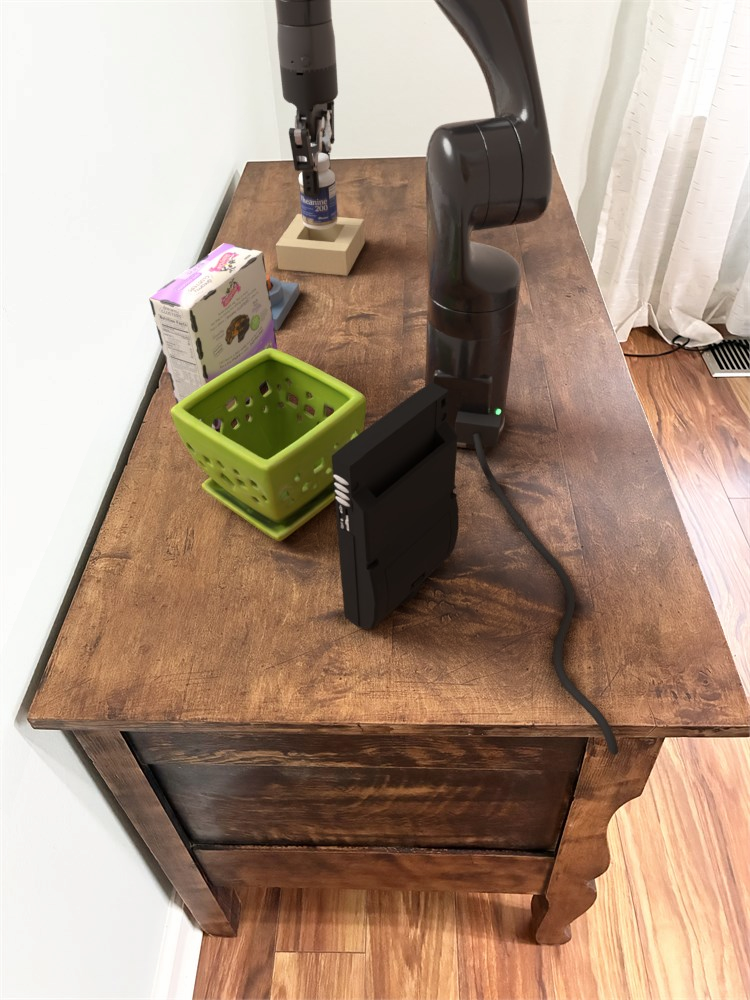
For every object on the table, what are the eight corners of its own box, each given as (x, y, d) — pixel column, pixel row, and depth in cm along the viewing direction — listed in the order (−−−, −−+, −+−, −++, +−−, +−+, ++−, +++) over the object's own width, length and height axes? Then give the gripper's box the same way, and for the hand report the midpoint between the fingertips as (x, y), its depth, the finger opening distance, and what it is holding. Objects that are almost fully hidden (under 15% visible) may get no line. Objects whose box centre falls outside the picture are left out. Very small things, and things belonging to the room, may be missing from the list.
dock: (347, 275, 114) (346, 251, 111) (278, 269, 116) (275, 244, 113) (364, 243, 122) (363, 218, 119) (299, 237, 124) (297, 213, 121)
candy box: (244, 359, 99) (223, 239, 87) (282, 370, 97) (265, 250, 85) (178, 418, 90) (145, 294, 79) (217, 432, 88) (189, 307, 77)
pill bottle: (297, 228, 114) (290, 162, 107) (310, 213, 117) (304, 149, 111) (331, 232, 113) (326, 165, 106) (342, 217, 116) (338, 152, 109)
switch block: (278, 330, 104) (275, 307, 101) (223, 324, 105) (219, 301, 103) (299, 293, 111) (297, 271, 108) (248, 288, 112) (245, 266, 110)
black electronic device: (421, 543, 75) (426, 378, 61) (458, 565, 73) (472, 399, 59) (339, 618, 69) (323, 453, 55) (377, 645, 67) (370, 481, 52)
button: (267, 295, 104) (265, 284, 103) (245, 293, 105) (243, 282, 104) (274, 284, 106) (273, 273, 105) (253, 282, 107) (251, 271, 106)
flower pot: (190, 501, 80) (163, 406, 71) (283, 436, 87) (270, 342, 78) (282, 565, 73) (265, 469, 64) (375, 489, 81) (371, 393, 72)
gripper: (297, 43, 105) (307, 167, 117) (262, 74, 95) (278, 206, 107) (349, 45, 104) (354, 170, 115) (319, 76, 94) (328, 210, 106)
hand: (317, 187), depth 111 cm, fingers closed on pill bottle, 5 cm apart
